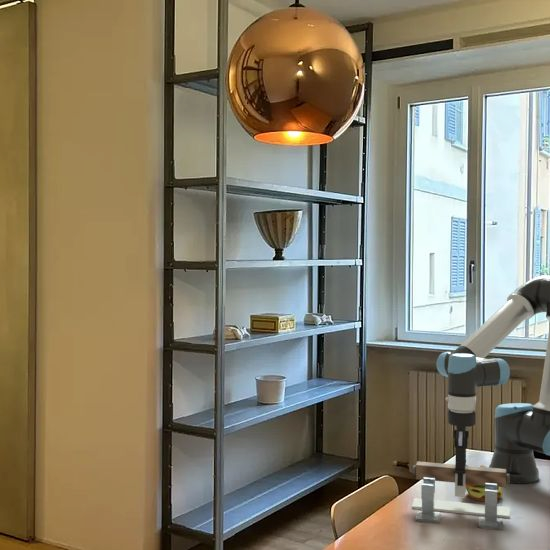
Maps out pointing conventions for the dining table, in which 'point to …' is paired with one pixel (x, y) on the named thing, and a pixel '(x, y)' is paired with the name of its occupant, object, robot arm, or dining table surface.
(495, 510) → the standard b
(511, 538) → the dining table surface
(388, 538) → the dining table surface
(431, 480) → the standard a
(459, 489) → the robot arm
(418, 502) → the white plank
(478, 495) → the cheeseburger
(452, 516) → the dining table surface
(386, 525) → the dining table surface
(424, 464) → the rail
